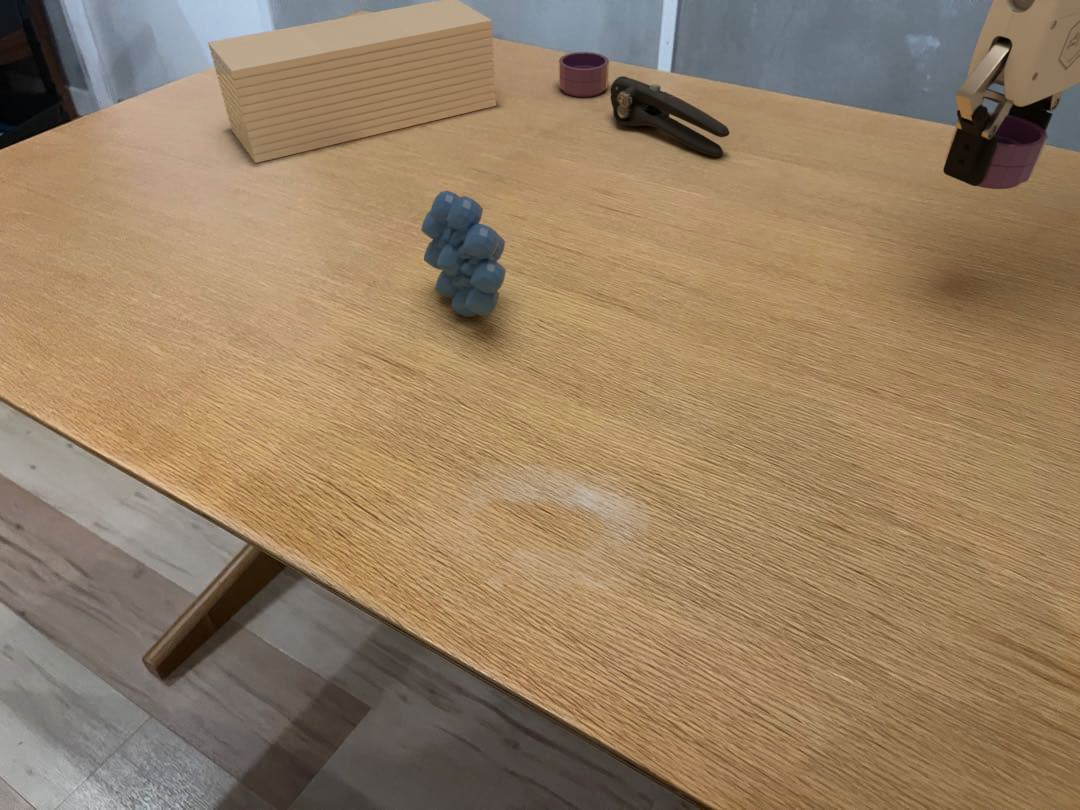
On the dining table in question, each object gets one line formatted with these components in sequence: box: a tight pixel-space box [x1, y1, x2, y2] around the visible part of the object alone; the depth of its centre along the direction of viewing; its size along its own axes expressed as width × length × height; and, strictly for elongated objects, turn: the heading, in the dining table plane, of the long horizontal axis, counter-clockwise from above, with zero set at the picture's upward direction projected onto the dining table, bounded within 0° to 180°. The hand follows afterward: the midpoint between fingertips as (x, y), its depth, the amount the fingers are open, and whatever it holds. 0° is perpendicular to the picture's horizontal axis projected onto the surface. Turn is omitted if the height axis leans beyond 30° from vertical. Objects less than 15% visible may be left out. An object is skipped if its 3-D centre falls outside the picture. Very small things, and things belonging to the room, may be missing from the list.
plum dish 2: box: [944, 111, 1049, 190], centre depth 67 cm, size 7×7×4 cm
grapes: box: [421, 190, 507, 318], centre depth 70 cm, size 12×7×12 cm, turn 34°
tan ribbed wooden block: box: [207, 0, 497, 164], centre depth 102 cm, size 32×11×11 cm, turn 120°
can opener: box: [610, 75, 730, 157], centre depth 99 cm, size 18×7×6 cm, turn 41°
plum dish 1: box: [558, 51, 610, 98], centre depth 111 cm, size 7×7×4 cm
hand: (988, 164), depth 68 cm, fingers closed on plum dish 2, 6 cm apart
